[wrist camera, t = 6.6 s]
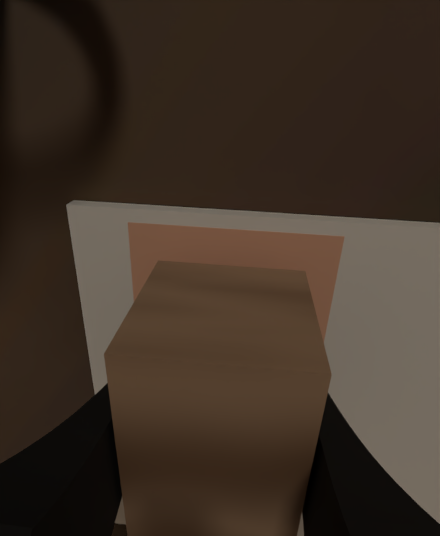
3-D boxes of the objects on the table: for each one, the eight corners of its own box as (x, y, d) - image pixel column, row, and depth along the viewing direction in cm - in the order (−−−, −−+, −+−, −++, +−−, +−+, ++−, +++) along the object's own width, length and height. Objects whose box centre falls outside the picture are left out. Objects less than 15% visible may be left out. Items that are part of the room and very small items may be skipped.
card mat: (655, 236, 12) (673, 243, 12) (467, 554, 21) (473, 567, 20) (73, 200, 14) (65, 204, 13) (117, 512, 22) (114, 523, 21)
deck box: (280, 437, 16) (288, 574, 11) (165, 425, 16) (130, 554, 12) (305, 270, 12) (331, 374, 8) (158, 260, 13) (103, 353, 8)
